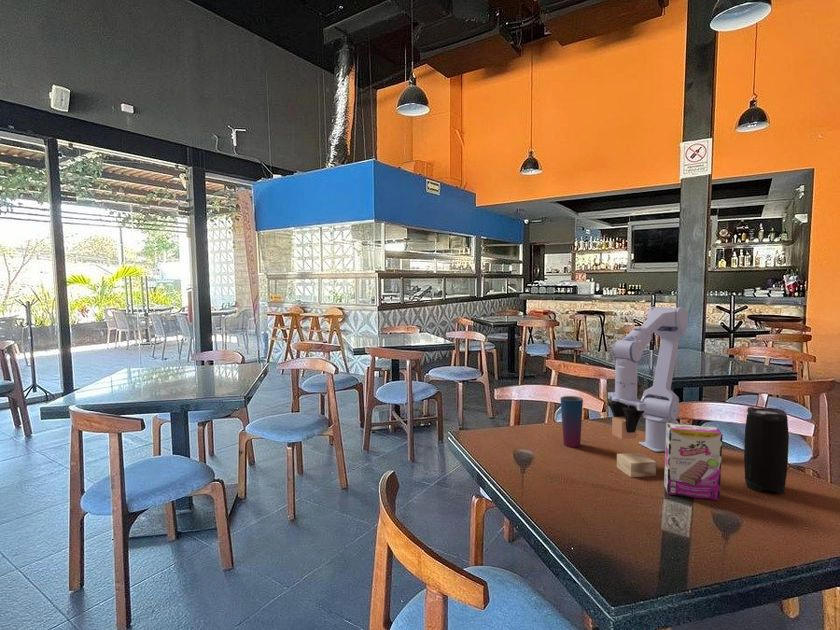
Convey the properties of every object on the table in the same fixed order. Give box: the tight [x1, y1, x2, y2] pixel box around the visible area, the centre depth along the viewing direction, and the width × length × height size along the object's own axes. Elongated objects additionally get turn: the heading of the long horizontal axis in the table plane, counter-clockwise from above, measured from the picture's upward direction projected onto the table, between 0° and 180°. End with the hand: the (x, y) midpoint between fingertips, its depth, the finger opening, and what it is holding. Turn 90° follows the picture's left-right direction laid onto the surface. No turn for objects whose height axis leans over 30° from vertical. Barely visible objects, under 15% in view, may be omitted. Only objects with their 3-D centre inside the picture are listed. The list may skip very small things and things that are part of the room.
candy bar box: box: [663, 423, 724, 501], centre depth 108 cm, size 11×5×16 cm, turn 71°
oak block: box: [616, 452, 657, 478], centre depth 123 cm, size 7×7×4 cm
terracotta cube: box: [611, 416, 637, 440], centre depth 129 cm, size 4×4×5 cm
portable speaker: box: [743, 406, 790, 495], centre depth 111 cm, size 9×9×20 cm
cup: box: [559, 395, 584, 448], centre depth 144 cm, size 7×7×15 cm
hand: (625, 429), depth 129 cm, fingers closed on terracotta cube, 4 cm apart
